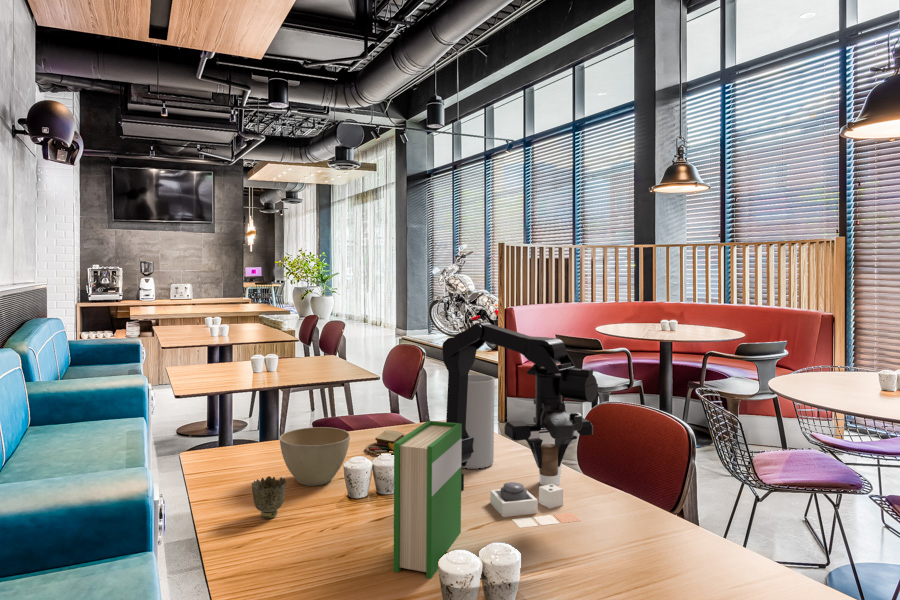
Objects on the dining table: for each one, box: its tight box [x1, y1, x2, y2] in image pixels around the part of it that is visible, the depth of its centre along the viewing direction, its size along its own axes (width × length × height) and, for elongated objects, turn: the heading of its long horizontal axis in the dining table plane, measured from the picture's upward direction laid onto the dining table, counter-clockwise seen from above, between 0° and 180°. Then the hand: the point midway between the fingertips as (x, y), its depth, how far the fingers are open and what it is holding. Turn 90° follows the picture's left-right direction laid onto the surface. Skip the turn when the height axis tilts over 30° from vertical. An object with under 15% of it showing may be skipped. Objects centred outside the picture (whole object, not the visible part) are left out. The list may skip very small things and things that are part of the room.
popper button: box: [500, 481, 528, 502], centre depth 134 cm, size 6×6×5 cm
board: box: [489, 488, 581, 529], centre depth 131 cm, size 18×16×4 cm
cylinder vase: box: [461, 374, 495, 470], centre depth 169 cm, size 12×12×25 cm
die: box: [538, 484, 564, 509], centre depth 136 cm, size 4×4×4 cm
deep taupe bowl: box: [279, 426, 351, 487], centre depth 153 cm, size 18×18×12 cm
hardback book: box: [393, 420, 462, 579], centre depth 113 cm, size 18×7×24 cm, turn 161°
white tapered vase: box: [538, 428, 563, 486], centre depth 151 cm, size 7×7×15 cm
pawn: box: [538, 444, 558, 476], centre depth 126 cm, size 4×4×6 cm
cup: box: [251, 476, 287, 520], centre depth 130 cm, size 8×7×8 cm
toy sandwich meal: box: [365, 429, 405, 455], centre depth 182 cm, size 12×14×5 cm
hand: (548, 467), depth 126 cm, fingers closed on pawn, 4 cm apart
